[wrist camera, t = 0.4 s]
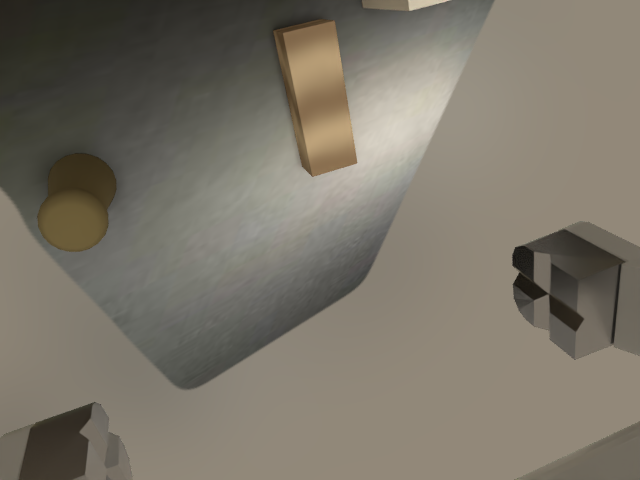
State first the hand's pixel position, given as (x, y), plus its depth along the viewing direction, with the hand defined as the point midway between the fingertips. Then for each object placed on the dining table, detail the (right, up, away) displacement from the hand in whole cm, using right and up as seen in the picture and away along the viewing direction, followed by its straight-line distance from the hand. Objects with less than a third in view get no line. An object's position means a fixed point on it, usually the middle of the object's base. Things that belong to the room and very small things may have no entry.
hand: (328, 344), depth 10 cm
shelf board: (-1, +17, +44) cm, 47 cm away
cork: (-23, +7, +40) cm, 47 cm away
